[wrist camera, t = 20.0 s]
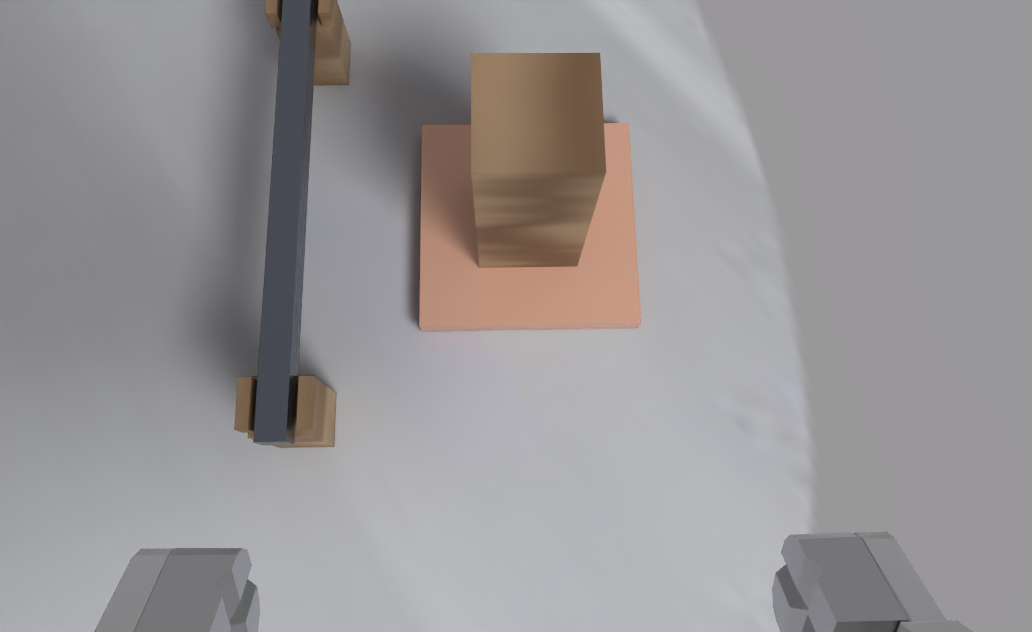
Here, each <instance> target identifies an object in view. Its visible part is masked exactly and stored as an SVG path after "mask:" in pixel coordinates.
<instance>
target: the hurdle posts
mask: <svg viewBox="0 0 1032 632" xmlns="http://www.w3.org/2000/svg"><path fill="white" fill-rule="evenodd" d="M282 5H283V0H266V4H265V15H266V17H267V19H268V21H269V23H270V25H271V27H276V33H277V35H278V37H279V39H280V35H281V20H282ZM349 66H350V40H349V37H348V34H347V31H346V27H345V24H344V21H343V18H342V15H341V12H340V8H339V5H338V2H337V0H318V9H317V28H316V47H315V66H314V85H349ZM257 379H258V376H252V377H238V387H237V400H236V414H235V427H234V430H237V431H240V432H243V433H244V432H248V438H251V439H254V424H255V409H256V394H257ZM335 415H336V392H335V391H333V390H332V389H331V388H329V387H328V386H327V385H325V384H324V383H323V382H321V381H320V380H319V379H317V378H316V377H315V376H313V375H304V376H298V385H297V404H296V423H295V442H294V445H273V446H276V447H279V448H287V447H334V440H335Z"/></svg>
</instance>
